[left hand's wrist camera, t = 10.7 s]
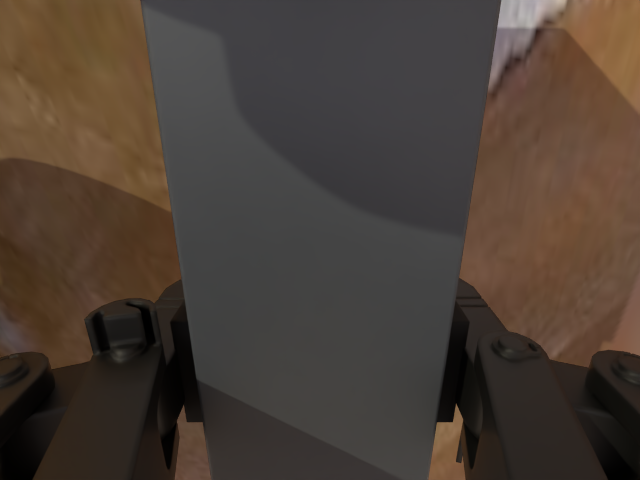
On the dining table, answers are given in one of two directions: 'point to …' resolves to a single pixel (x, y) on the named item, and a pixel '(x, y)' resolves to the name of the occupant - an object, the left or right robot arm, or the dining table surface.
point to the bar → (320, 220)
